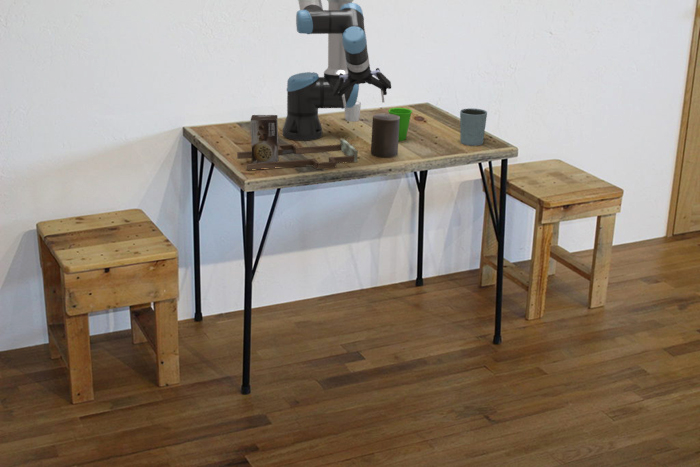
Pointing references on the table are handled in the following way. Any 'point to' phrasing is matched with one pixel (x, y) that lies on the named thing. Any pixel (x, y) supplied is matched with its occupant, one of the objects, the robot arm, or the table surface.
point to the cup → (402, 120)
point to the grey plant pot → (472, 126)
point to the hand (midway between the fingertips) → (363, 102)
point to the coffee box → (264, 138)
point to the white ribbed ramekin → (353, 112)
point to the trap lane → (291, 148)
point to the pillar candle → (385, 135)
